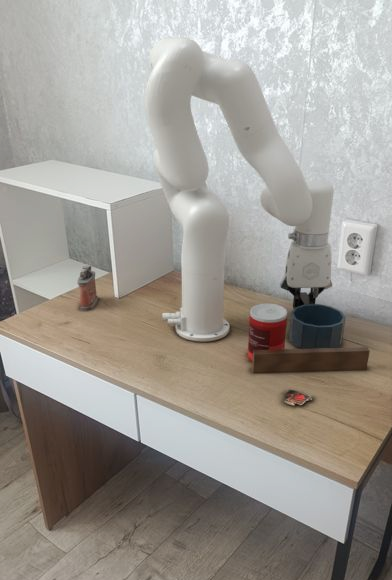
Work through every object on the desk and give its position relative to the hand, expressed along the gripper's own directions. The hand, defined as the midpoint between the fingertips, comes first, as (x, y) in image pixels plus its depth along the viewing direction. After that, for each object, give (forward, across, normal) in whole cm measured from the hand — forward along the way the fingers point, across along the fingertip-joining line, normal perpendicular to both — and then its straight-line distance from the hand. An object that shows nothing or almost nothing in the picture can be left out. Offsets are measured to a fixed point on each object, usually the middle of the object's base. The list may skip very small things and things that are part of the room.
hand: (303, 310), depth 136 cm
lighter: (+2, -53, +11) cm, 54 cm away
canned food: (+2, -13, -19) cm, 23 cm away
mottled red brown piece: (+1, -10, -36) cm, 37 cm away
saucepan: (+2, 0, -7) cm, 8 cm away
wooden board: (+2, -4, -25) cm, 25 cm away
